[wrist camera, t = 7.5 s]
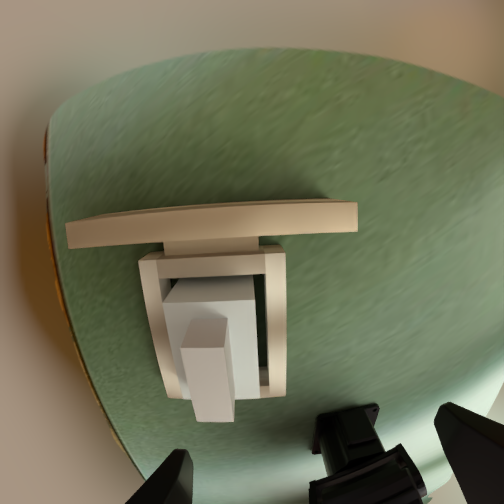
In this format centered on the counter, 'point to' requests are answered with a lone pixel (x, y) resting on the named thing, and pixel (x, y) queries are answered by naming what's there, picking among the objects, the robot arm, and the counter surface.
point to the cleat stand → (216, 259)
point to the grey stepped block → (214, 342)
